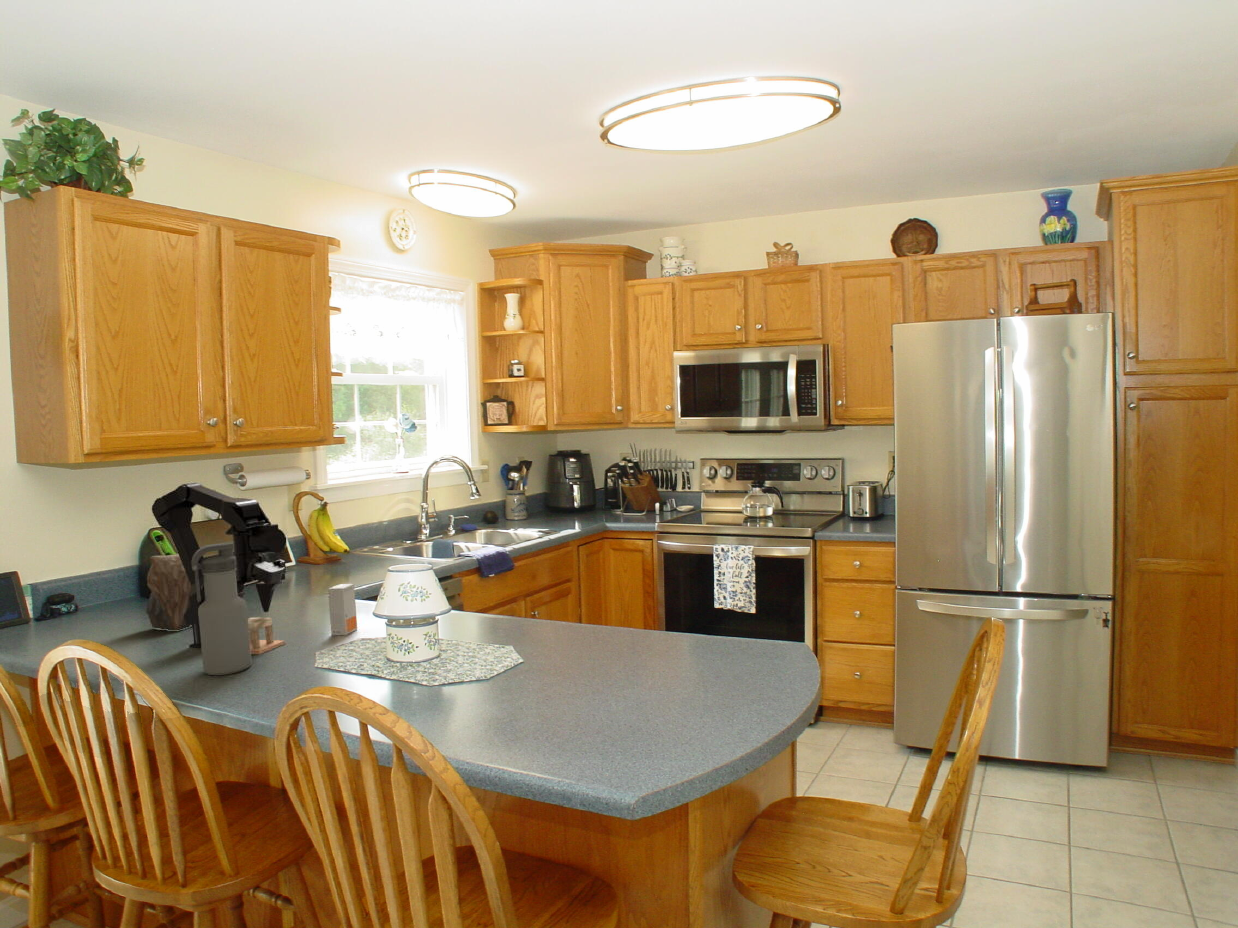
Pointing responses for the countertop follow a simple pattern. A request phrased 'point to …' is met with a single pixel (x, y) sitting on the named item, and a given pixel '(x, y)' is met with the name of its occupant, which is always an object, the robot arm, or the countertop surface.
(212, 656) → the water bottle
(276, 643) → the trivet
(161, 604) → the tree stump
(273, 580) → the robot arm
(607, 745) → the countertop surface
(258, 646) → the birch stool
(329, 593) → the skincare box
